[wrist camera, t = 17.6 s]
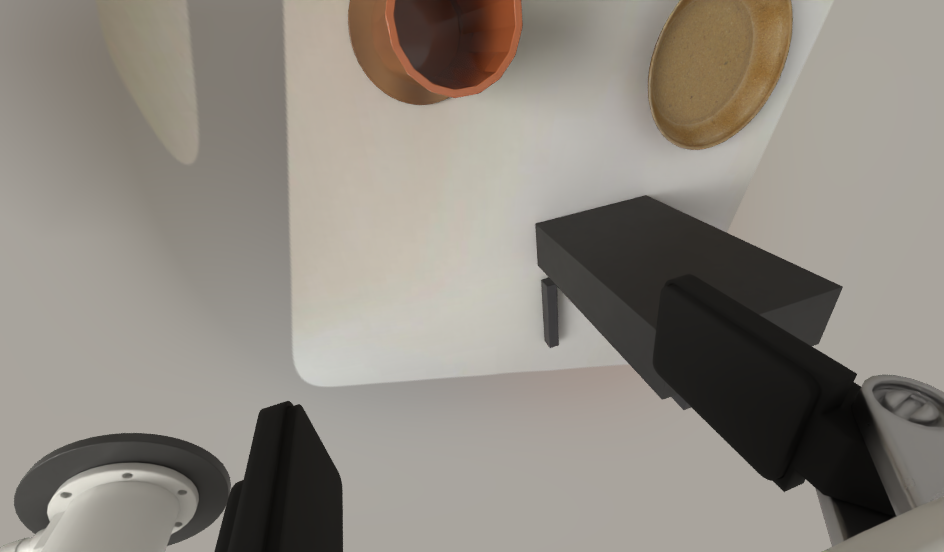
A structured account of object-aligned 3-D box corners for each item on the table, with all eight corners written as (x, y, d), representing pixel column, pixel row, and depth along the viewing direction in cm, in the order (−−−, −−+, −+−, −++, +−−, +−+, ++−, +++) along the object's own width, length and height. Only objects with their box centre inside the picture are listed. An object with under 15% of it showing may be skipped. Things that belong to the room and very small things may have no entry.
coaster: (369, 115, 31) (370, 115, 31) (328, -44, 26) (328, -45, 26) (488, 92, 33) (489, 92, 33) (471, -62, 28) (473, -63, 27)
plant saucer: (776, -61, 34) (806, -69, 31) (760, 113, 42) (783, 116, 39) (623, -1, 32) (643, -5, 30) (636, 166, 40) (653, 173, 38)
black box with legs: (542, 341, 49) (646, 491, 32) (535, 223, 40) (671, 343, 24) (634, 312, 51) (778, 439, 34) (646, 195, 43) (843, 286, 26)
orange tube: (384, 90, 30) (404, 107, 20) (359, -18, 27) (368, -62, 17) (468, 75, 32) (526, 84, 22) (454, -31, 28) (516, -79, 18)
